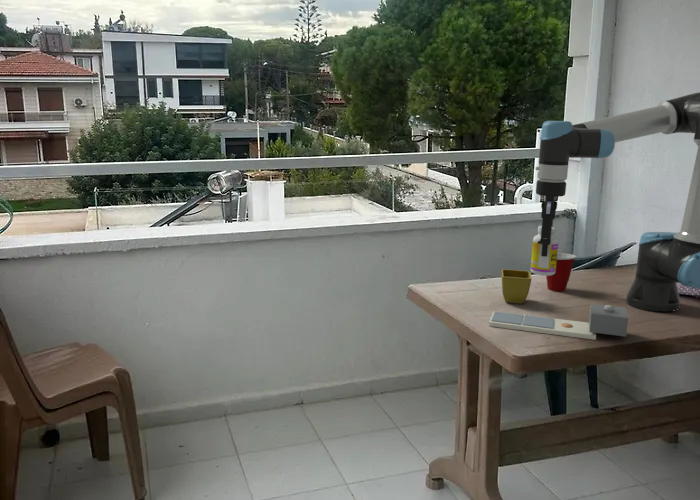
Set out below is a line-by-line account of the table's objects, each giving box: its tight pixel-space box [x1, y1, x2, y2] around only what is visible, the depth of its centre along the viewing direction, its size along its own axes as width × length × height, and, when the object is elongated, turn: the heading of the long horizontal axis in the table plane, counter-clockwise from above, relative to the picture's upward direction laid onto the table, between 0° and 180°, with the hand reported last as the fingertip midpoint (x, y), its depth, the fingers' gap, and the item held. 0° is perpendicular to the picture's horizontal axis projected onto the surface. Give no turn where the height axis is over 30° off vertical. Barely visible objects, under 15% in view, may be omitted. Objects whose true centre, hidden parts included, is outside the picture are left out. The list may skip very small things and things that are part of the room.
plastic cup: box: [545, 252, 577, 293], centre depth 214 cm, size 11×11×12 cm
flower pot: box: [501, 268, 533, 305], centre depth 201 cm, size 9×9×9 cm
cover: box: [588, 303, 629, 337], centre depth 173 cm, size 9×9×6 cm
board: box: [488, 310, 597, 341], centre depth 180 cm, size 28×10×2 cm, turn 71°
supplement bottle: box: [529, 225, 560, 277], centre depth 175 cm, size 7×7×13 cm
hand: (543, 264), depth 176 cm, fingers closed on supplement bottle, 7 cm apart
